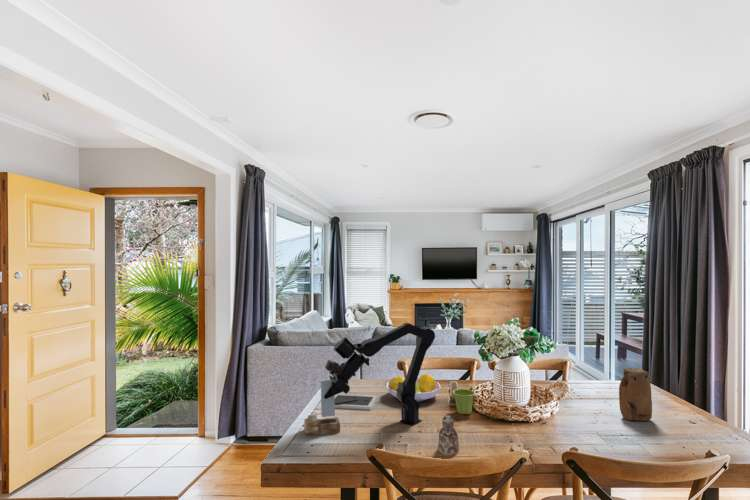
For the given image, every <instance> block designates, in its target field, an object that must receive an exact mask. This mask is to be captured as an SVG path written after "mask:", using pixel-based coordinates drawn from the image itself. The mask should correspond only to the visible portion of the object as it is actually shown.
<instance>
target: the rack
mask: <svg viewBox="0 0 750 500" xmlns="http://www.w3.org/2000/svg"><path fill="white" fill-rule="evenodd" d="M317 422H318V432H309V433H306V431H305V426H304V429H303V431H304V436H306V437H307V436H316V435H327V434H336V433H338V434H339V433H341V422H340V419H339V417H337V416H336V417H335V416H334V417H324V418H317Z"/></svg>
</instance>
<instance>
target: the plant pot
mask: <svg viewBox="0 0 750 500" xmlns="http://www.w3.org/2000/svg"><path fill="white" fill-rule="evenodd" d="M452 394H453V396H454V398H455V406H456V411H457V413H458V414H460V415H470V414H472V411H473V403H474V397H475V395H476V392H475V391H474V390H472V389H467V388H457V389H454V390H453V391H452Z"/></svg>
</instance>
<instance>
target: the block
mask: <svg viewBox="0 0 750 500" xmlns="http://www.w3.org/2000/svg"><path fill="white" fill-rule="evenodd" d="M651 385H652V384H651V380H650V373H649V372H648V371H645V370H644V369H642V368H638V367H637V368H632V367H627V368H624V369H623V376H621V380H620V383H619V385H618V398H619V399H618V400H619V410H620V414H621V416H622V418H623V419H625V420H627V421H638V422H639V421H640V422H641V421H643V422H646V421H650V420H651V419H652V418H653V417H652V416H653V400H652V386H651Z"/></svg>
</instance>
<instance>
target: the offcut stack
mask: <svg viewBox="0 0 750 500" xmlns="http://www.w3.org/2000/svg"><path fill="white" fill-rule="evenodd" d="M317 419H318V416H317V414H310V415H308V416H307V418H304V419H303V420H304V427H305V431H306V433H309V432H318V422H317ZM305 431H304V432H305Z"/></svg>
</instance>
